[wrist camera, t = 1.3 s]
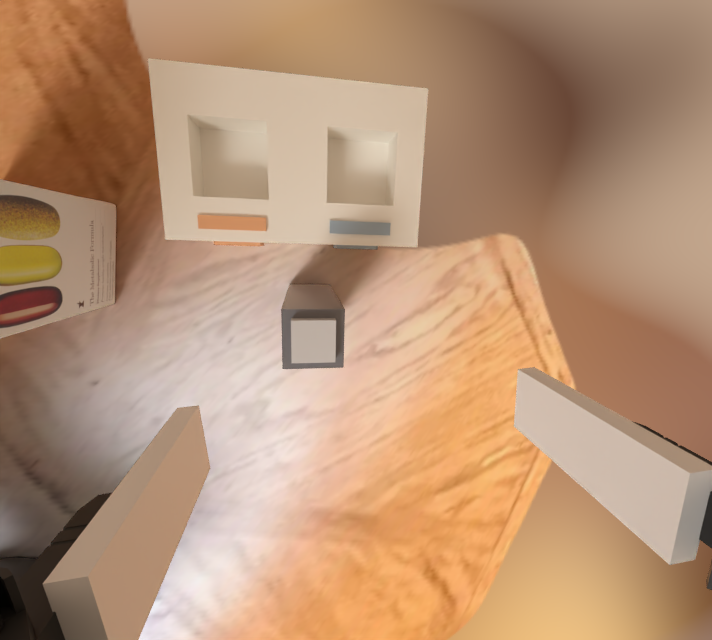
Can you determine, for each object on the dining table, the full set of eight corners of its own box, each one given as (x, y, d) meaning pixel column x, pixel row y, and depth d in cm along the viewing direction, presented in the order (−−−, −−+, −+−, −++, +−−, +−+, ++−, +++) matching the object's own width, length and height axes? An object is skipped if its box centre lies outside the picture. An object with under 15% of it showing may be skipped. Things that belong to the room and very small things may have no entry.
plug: (290, 322, 34) (282, 372, 21) (289, 283, 33) (280, 310, 20) (329, 322, 35) (344, 370, 22) (329, 284, 34) (345, 310, 21)
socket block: (191, 243, 31) (164, 243, 25) (179, 95, 28) (146, 56, 22) (397, 249, 34) (417, 250, 28) (405, 116, 31) (429, 87, 25)
